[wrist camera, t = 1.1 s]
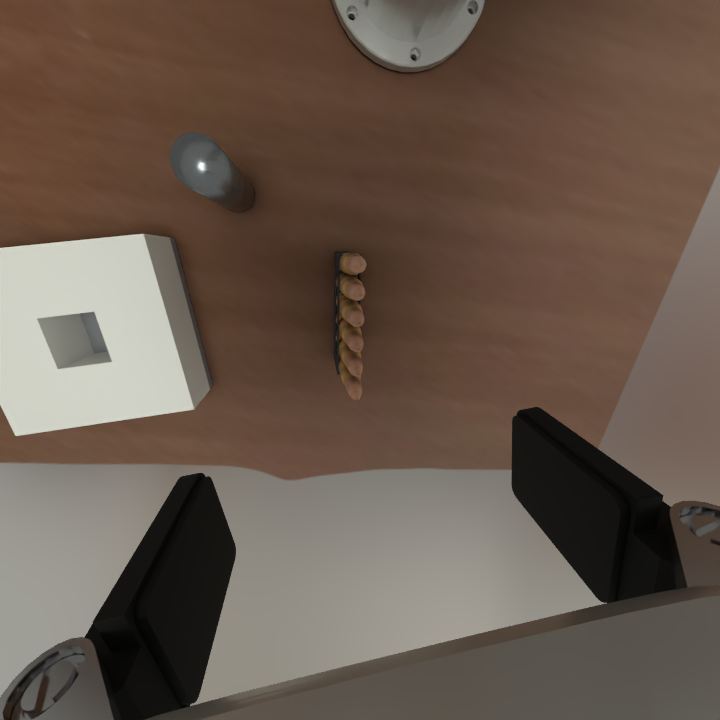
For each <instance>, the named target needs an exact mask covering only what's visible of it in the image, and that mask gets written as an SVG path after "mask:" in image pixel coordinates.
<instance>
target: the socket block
mask: <svg viewBox="0 0 720 720" xmlns="http://www.w3.org/2000/svg"><path fill="white" fill-rule="evenodd" d="M212 386H213V383H212V380H211V376H210V372H209V368H208V364H207V361H206V357H205V353H204V349H203V345H202V341H201V338H200V334H199V330H198V326H197V322H196V319H195V315H194V311H193V307H192V303H191V300H190V296H189V292H188V288H187V284H186V281H185V277H184V273H183V269H182V265H181V261H180V258H179V254H178V250H177V246H176V242H175V239H174V238H171V237H164V236H156V235H149V234H136V235H126V236H116V237H106V238H96V239H86V240H76V241H66V242H56V243H46V244H36V245H26V246H16V247H6V248H0V405H1V407H2V409H3V411H4V413H5V415H6V417H7V420H8V422H9V424H10V426H11V428H12V430H13V432H14V434H15V436H19V435H25V434H32V433H39V432H46V431H52V430H59V429H66V428H73V427H79V426H86V425H93V424H100V423H106V422H113V421H120V420H127V419H133V418H140V417H147V416H153V415H160V414H167V413H174V412H180V411H187V410H194V409H195V408H196V407H197V405H198V404H199V403H200V401H201V400H202V399H203V398H204V396H205V395H206V394H207V393H208V391H209V390H210V389H211V388H212Z"/></svg>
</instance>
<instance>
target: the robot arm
mask: <svg viewBox="0 0 720 720" xmlns="http://www.w3.org/2000/svg"><path fill="white" fill-rule="evenodd" d="M332 3H333V7H334V9H335V11H336V14H337V16H338V19H339V21H340V23H341V25H342V27H343V28H344V30H345V31H346V33H347V35H348V36H349V38H350V39H351V41H352V42H353V43H354V44H355V45H356V46H357V47H358V49H359V50H360V51H361V52H362V53H363V54H365V55H366V56H367V57H369V58H370V59H371V60H372V61H374V62H375V63H377V64H379V65H381V66H383V67H385V68H387V69H391V70H395V71H399V72H419V71H423V70H427V69H431V68H433V67H435V66H437V65H439V64H441V63H443V62H444V61H445V60H447V59H448V58H449V57H450V56H452V55H453V54H454V53H455V52H456V51H457V50H458V49H459V47H460V46H461V45H462V44H463V43H464V41H465V40H466V39H467V37H468V36H469V34H470V33H471V31H472V30H473V28H474V27H475V25H476V23H477V21H478V19H479V17H480V15H481V12H482V10H483V7H484V3H485V0H332ZM350 17H351V18H353V19H354V20H350V19H349V18H350ZM411 57H413V58H414V59H415V61H413V60H412V59H411ZM512 490H513V492H514V495H515V496H516V498H517V499H518V500H519V502H520V503H521V504H522V505H523V507H524V508H525V509H526V510H527V512H528V513H529V514H530V515H531V517H532V518H533V519H534V520H535V522H536V523H537V524H538V525H539V527H540V528H541V529H542V530H543V531H544V533H545V534H546V535H547V536H548V538H549V539H550V540H551V541H552V543H553V544H554V545H555V546H556V548H557V549H558V550H559V551H560V553H561V554H562V555H563V556H564V558H565V559H566V560H567V561H568V563H569V564H570V565H571V566H572V567H573V569H574V570H575V571H576V572H577V574H578V575H579V576H580V578H581V579H582V580H583V581H584V582H585V584H586V585H587V586H588V587H589V589H590V590H591V591H592V592H593V594H594V595H595V596H596V597H597V598H598V599H599V600H600V601H601V602H604V603H606V602H607V604H602V605H598V606H593V607H589V608H585V609H581V610H576V611H572V612H568V613H564V614H560V615H555V616H552V617H547V618H543V619H539V620H534V621H530V622H526V623H522V624H518V625H514V626H509V627H505V628H501V629H497V630H493V631H488V632H484V633H480V634H476V635H472V636H468V637H463V638H459V639H455V640H451V641H447V642H443V643H439V644H435V645H430V646H427V647H422V648H419V649H414V650H410V651H406V652H402V653H398V654H394V655H390V656H386V657H382V658H378V659H373V660H369V661H366V662H361V663H357V664H353V665H349V666H345V667H341V668H337V669H333V670H329V671H325V672H321V673H317V674H314V675H309V676H305V677H302V678H297V679H293V680H289V681H286V682H281V683H277V684H273V685H269V686H265V687H261V688H257V689H253V690H249V691H245V692H241V693H238V694H234V695H230V696H227V697H223V698H219V699H216V700H212V701H208V702H204V703H201V704H198V705H193V706H190V704H192V703H195V702H196V701H197V699H198V697H199V693H200V690H201V687H202V683H203V679H204V675H205V671H206V667H207V664H208V660H209V656H210V652H211V649H212V645H213V641H214V637H215V633H216V629H217V626H218V622H219V618H220V614H221V610H222V607H223V603H224V599H225V595H226V591H227V588H228V584H229V580H230V576H231V572H232V568H233V565H234V561H235V556H236V547H235V543H234V540H233V537H232V535H231V532H230V529H229V526H228V523H227V520H226V518H225V515H224V512H223V509H222V506H221V504H220V501H219V498H218V495H217V492H216V490H215V487H214V484H213V481H212V479H211V478H210V477H205V475H204V474H203V473H197V474H192V475H187V476H182V477H180V478H179V479H178V481H177V482H176V484H175V486H174V487H173V489H172V491H171V492H170V494H169V496H168V498H167V499H166V501H165V502H164V504H163V506H162V507H161V509H160V511H159V513H158V514H157V516H156V517H155V519H154V521H153V523H152V524H151V526H150V527H149V529H148V531H147V532H146V534H145V536H144V537H143V539H142V541H141V542H140V544H139V546H138V547H137V549H136V551H135V553H134V554H133V556H132V558H131V559H130V561H129V563H128V564H127V566H126V567H125V569H124V571H123V573H122V574H121V576H120V578H119V579H118V581H117V583H116V584H115V586H114V588H113V589H112V591H111V592H110V594H109V596H108V598H107V599H106V601H105V602H104V604H103V606H102V607H101V609H100V611H99V612H98V614H97V616H96V617H95V619H94V621H93V624H92V626H91V627H90V629H89V631H88V633H87V634H86V636H85V638H83V637H79V638H72V639H69V640H66V641H64V642H62V643H59V644H57V645H55V646H54V647H52V648H51V649H49V650H47V651H46V652H44V653H42V654H41V655H40V656H39V657H37V658H36V659H35V660H34V661H33V662H31V663H30V664H29V665H28V666H27V667H26V668H25V669H24V670H23V671H22V672H21V673H20V674H19V675H18V676H17V677H16V678H15V679H14V680H13V681H12V682H11V684H10V685H9V686H8V688H7V689H6V690H5V692H4V693H3V694H2V695H1V697H0V720H720V506H716V505H713V504H709V503H705V502H698V501H682V502H679V503H676V504H674V505H673V506H672V507H670V506H669V505H667V504H666V503H664V502H663V501H662V499H663V495H662V494H660V493H659V492H658V491H656V490H655V489H653V488H652V487H651V486H649V485H648V484H646V483H645V482H643V481H642V480H641V479H639V478H638V477H637V476H635V475H634V474H632V473H631V472H630V471H628V470H627V469H625V468H624V467H622V466H621V465H620V464H618V463H617V462H615V461H614V460H612V459H611V458H610V457H608V456H607V455H606V454H604V453H603V452H601V451H600V450H599V449H597V448H596V447H594V446H593V445H592V444H590V443H589V442H587V441H586V440H584V439H583V438H582V437H580V436H579V435H577V434H576V433H575V432H573V431H572V430H570V429H569V428H568V427H566V426H565V425H563V424H562V423H561V422H559V421H558V420H556V419H555V418H553V417H552V416H551V415H549V414H548V413H546V412H545V411H544V410H542V409H541V408H539V407H534V408H529V409H524V410H519V411H518V412H517V416H514V417H513V420H512Z"/></svg>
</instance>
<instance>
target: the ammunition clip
mask: <svg viewBox="0 0 720 720" xmlns="http://www.w3.org/2000/svg"><path fill="white" fill-rule="evenodd" d="M365 268H366V261H365V260H364V258H363V257H362V256H361V254H358V253H355V252H335V314H334V360H335V365H336V370H337V374H340V377H341V380H342V382H343V383H344V384H345V387H346V389H347V392H348V394H349V395H350V396H351V397H352V398H353V399H354V400H359V399H360V397H361V395H362V385H361V380H360V378H361V373H362V371H363V364H362V360H361V352H360V351H361V350H362V349H363V345H364V343H363V338H362V332H361V329H360V326H362V325H363V323H364V315H363V310H362V307H361V306H360V300H361V299H363V298H364V296H365V289H364V287H363V284H362V282H361V272H363V271H364V270H365ZM357 274H358V279H357V278H355V275H357ZM356 300H357V301H356Z"/></svg>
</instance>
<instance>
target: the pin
mask: <svg viewBox="0 0 720 720" xmlns="http://www.w3.org/2000/svg"><path fill="white" fill-rule="evenodd" d="M170 160H171V165H172V169H173V171H174V173H175V175H176V176H177V178H178V179H179V180H180V181H181V182H182V183H183V184H184V185H186V186H187V187H189V188H191V189H192V190H194V191H196V192H198V193H200V194H202V195H203V196H205V197H207V198H209V199H211V200H212V201H214V202H216V203H218V204H220V205H221V206H223V207H225V208H227V209H229V210H230V211H233V212H237V213H241V212H245V211H247V210H249V209H250V208H251V206H252V205H253V203H254V199H255V192H254V189H253V186H252V185H251V183H250V182H249V181H248V179H247V178H246V177H245V176H244V175H243V174H242V173H241V171H240V170H239V169H238V168H237V167H236V166H235V164H234V163H233V162H232V161H231V160H230V159H229V158H228V156H227V155H226V154H225V153H224V152H223V151H222V149H221V148H220V147H219V146H218V145H217V144H216V142H214V141H213V140H212V139H211V138H210V137H208V136H206V135H204V134H201V133H196V132H190V133H186V134H183V135H181V136H180V137H179V138H178V139H177V140H176V141H175V142H174V144H173V146H172V149H171V153H170Z"/></svg>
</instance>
